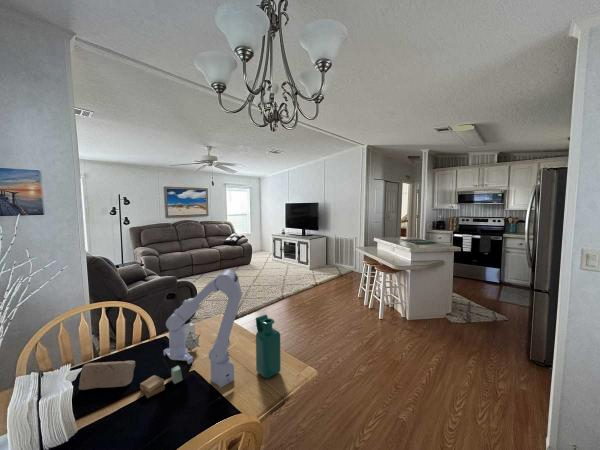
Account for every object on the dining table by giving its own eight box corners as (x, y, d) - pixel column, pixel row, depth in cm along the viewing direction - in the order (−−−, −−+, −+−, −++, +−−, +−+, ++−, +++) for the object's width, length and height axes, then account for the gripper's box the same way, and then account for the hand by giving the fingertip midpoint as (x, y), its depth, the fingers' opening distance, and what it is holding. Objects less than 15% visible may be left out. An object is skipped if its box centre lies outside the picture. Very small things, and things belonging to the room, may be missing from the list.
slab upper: (163, 384, 98) (163, 379, 98) (149, 393, 93) (149, 388, 93) (154, 379, 101) (154, 375, 101) (140, 388, 96) (140, 383, 96)
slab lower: (165, 391, 97) (164, 385, 97) (147, 399, 93) (147, 394, 93) (159, 383, 102) (159, 378, 101) (142, 391, 97) (141, 386, 97)
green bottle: (282, 371, 108) (282, 320, 106) (265, 380, 102) (265, 326, 101) (269, 360, 115) (268, 313, 114) (252, 368, 110) (252, 318, 108)
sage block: (186, 378, 104) (185, 366, 103) (174, 384, 100) (174, 371, 100) (182, 375, 106) (182, 363, 105) (171, 380, 103) (171, 368, 102)
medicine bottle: (195, 337, 136) (194, 315, 135) (182, 343, 130) (182, 320, 129) (187, 333, 140) (186, 312, 139) (174, 339, 134) (173, 317, 133)
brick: (135, 359, 104) (131, 362, 100) (132, 382, 102) (127, 386, 98) (88, 362, 100) (81, 365, 96) (83, 386, 98) (76, 390, 94)
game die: (204, 347, 127) (203, 327, 126) (195, 357, 118) (194, 336, 117) (186, 346, 127) (186, 326, 127) (177, 356, 119) (176, 335, 118)
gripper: (198, 342, 102) (199, 374, 103) (173, 334, 109) (174, 365, 110) (183, 351, 96) (185, 385, 97) (158, 342, 102) (159, 374, 103)
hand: (178, 375), depth 103 cm, fingers open, 7 cm apart
